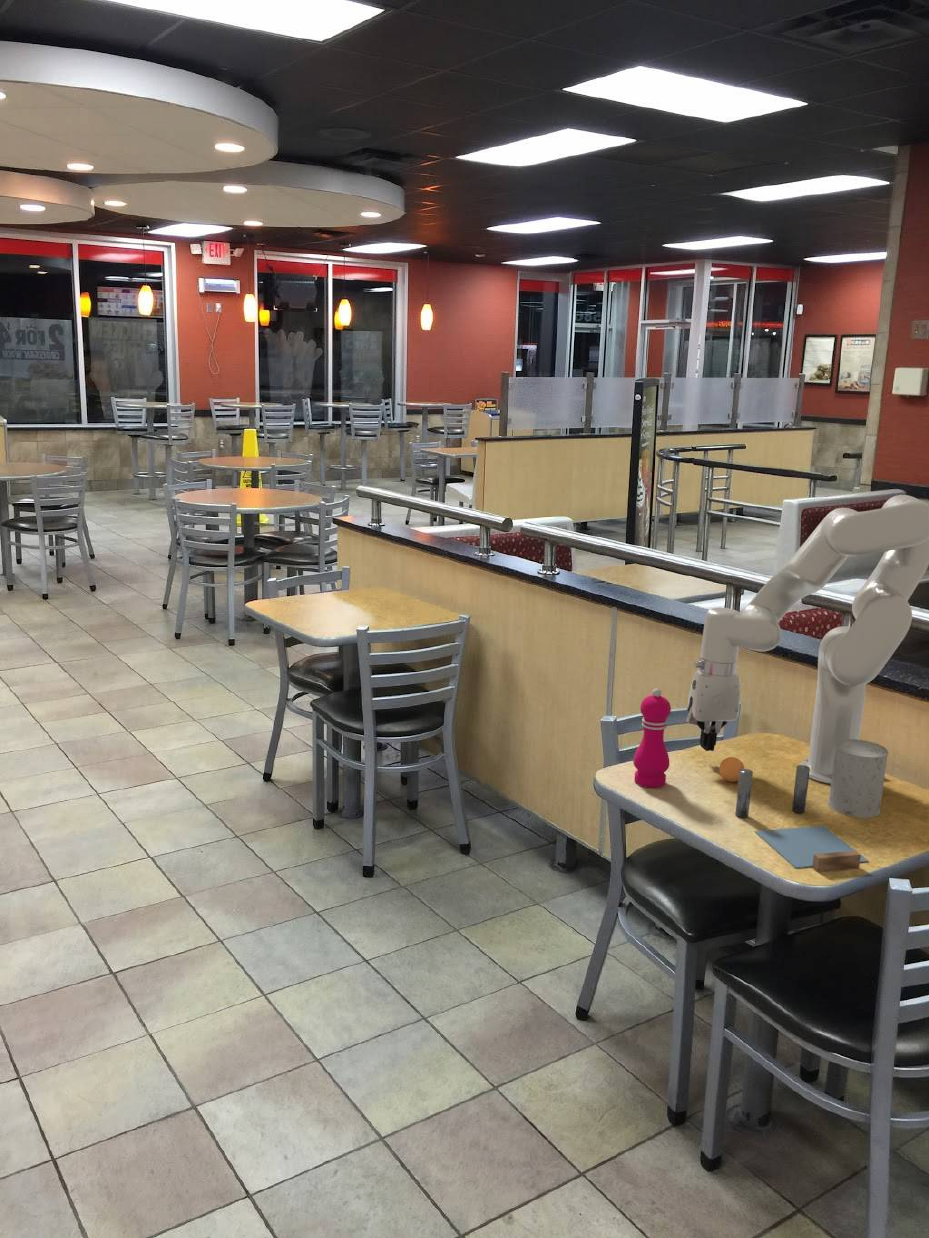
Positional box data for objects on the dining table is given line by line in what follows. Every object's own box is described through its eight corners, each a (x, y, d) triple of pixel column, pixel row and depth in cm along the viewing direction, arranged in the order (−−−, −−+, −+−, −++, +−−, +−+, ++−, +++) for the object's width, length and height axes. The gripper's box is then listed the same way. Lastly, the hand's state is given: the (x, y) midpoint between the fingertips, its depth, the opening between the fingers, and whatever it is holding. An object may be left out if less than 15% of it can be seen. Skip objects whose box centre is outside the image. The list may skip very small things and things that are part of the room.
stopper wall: (853, 863, 175) (855, 850, 174) (859, 867, 173) (860, 854, 173) (812, 867, 173) (813, 854, 172) (817, 871, 171) (818, 858, 171)
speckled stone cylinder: (853, 820, 192) (861, 759, 189) (817, 801, 200) (824, 742, 197) (891, 813, 195) (899, 753, 192) (854, 794, 204) (862, 736, 201)
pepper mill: (670, 789, 203) (678, 694, 199) (634, 788, 204) (641, 693, 199) (664, 775, 210) (672, 683, 206) (629, 774, 211) (636, 682, 206)
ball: (736, 775, 212) (738, 752, 211) (747, 784, 207) (750, 761, 206) (714, 776, 211) (716, 754, 209) (725, 786, 206) (727, 763, 205)
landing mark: (823, 826, 189) (823, 825, 189) (868, 861, 175) (868, 860, 175) (754, 832, 186) (755, 831, 186) (795, 868, 172) (795, 867, 172)
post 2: (800, 808, 196) (805, 764, 194) (807, 813, 194) (812, 769, 192) (789, 809, 196) (794, 765, 194) (795, 814, 194) (801, 770, 192)
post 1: (744, 812, 194) (748, 768, 192) (750, 817, 192) (755, 773, 189) (732, 813, 193) (737, 769, 191) (739, 818, 191) (743, 774, 189)
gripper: (692, 672, 207) (682, 756, 212) (758, 671, 211) (747, 754, 215) (677, 661, 215) (667, 743, 219) (741, 661, 218) (730, 741, 222)
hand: (707, 748), depth 217 cm, fingers closed
